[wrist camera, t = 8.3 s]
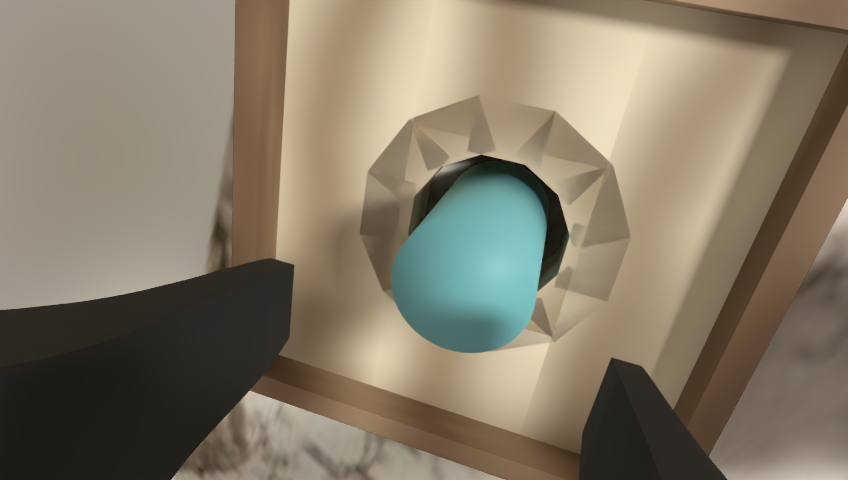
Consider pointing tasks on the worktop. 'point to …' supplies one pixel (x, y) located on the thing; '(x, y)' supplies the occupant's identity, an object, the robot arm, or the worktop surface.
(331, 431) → the worktop surface
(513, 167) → the peg
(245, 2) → the walnut box
